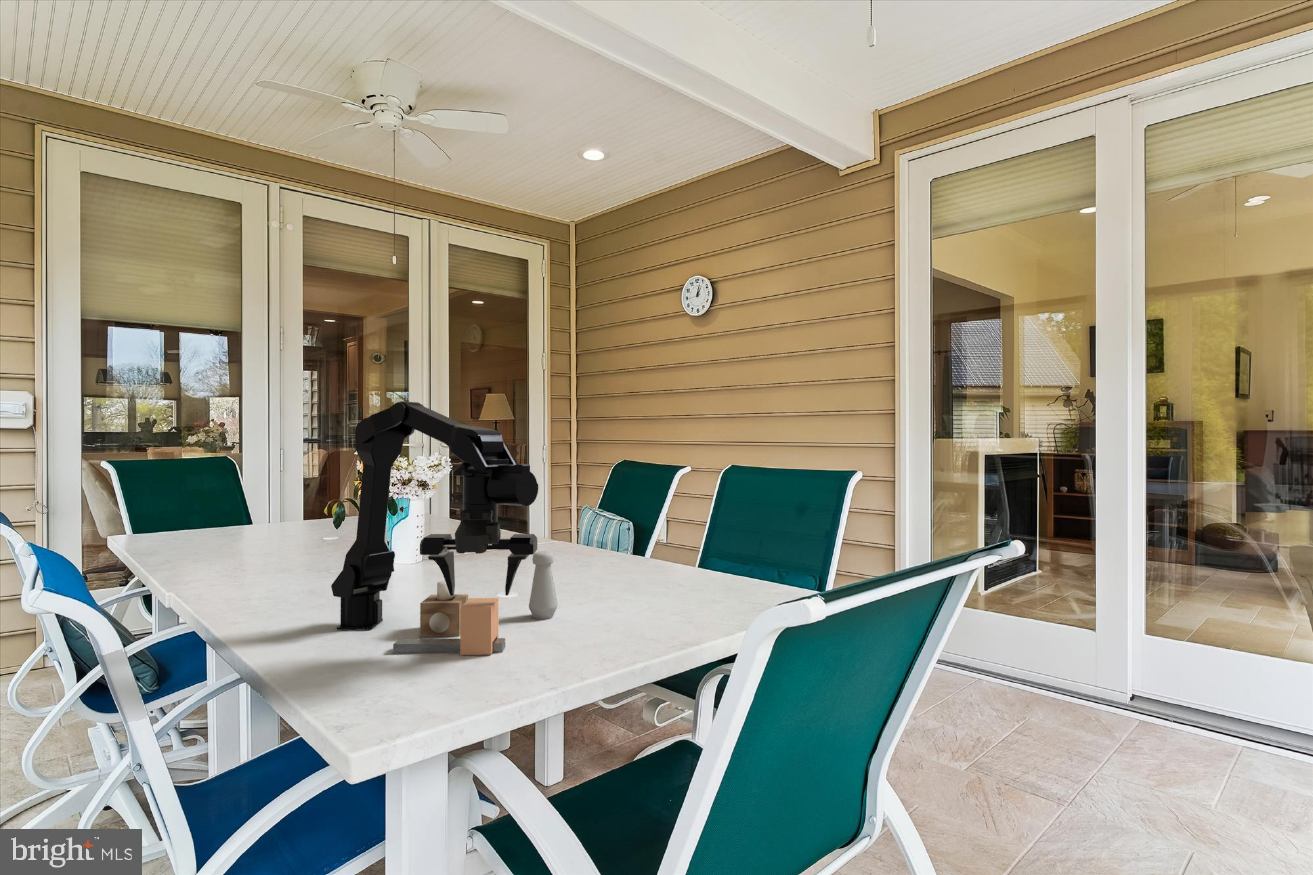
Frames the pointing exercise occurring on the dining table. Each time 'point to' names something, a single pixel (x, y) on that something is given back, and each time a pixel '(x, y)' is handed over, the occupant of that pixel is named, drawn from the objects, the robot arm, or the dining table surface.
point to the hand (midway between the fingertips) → (479, 595)
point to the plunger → (443, 591)
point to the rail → (437, 645)
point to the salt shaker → (543, 587)
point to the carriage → (479, 625)
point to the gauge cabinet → (441, 615)
